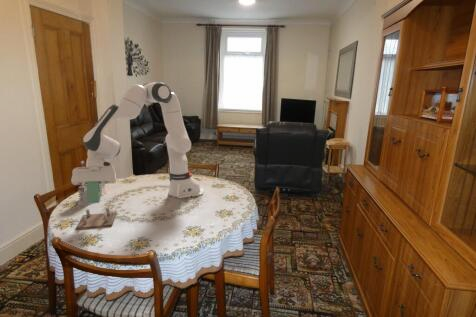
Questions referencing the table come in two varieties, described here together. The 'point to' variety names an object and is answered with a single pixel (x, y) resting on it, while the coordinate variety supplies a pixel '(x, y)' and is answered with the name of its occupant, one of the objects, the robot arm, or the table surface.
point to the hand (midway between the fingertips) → (93, 191)
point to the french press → (83, 195)
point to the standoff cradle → (96, 220)
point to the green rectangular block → (93, 192)
